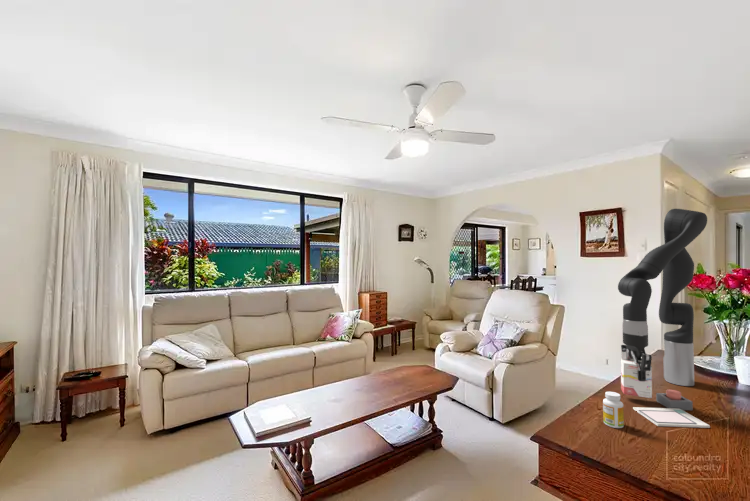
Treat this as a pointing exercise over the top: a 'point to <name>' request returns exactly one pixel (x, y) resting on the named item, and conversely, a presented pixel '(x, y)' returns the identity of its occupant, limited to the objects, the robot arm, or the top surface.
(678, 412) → the sheet
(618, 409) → the supplement bottle
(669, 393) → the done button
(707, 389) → the top surface
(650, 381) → the ink cartridge box
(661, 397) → the button housing
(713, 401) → the top surface
